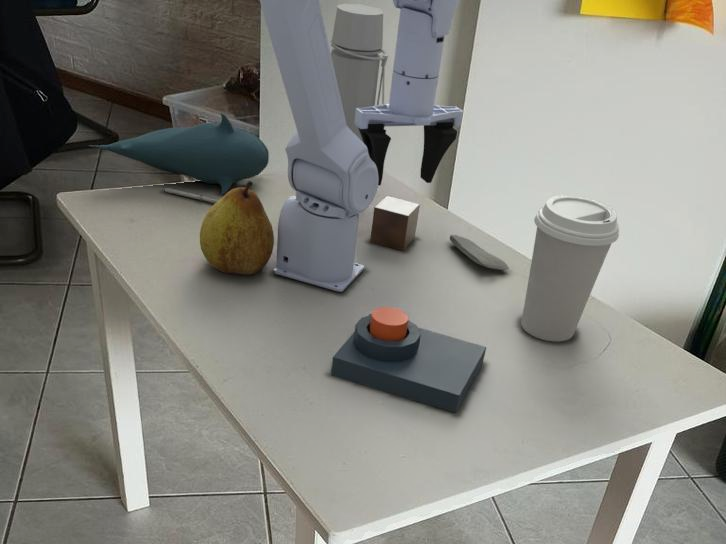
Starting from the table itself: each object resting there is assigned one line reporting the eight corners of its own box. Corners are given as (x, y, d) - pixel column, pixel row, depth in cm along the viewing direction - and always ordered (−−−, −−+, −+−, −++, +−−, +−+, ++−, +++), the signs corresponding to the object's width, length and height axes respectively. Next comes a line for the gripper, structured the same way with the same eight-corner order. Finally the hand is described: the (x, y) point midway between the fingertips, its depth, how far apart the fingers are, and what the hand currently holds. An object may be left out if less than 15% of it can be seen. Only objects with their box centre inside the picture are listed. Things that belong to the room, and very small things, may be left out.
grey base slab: (330, 374, 88) (334, 342, 85) (367, 330, 96) (371, 299, 93) (455, 413, 85) (462, 380, 82) (482, 363, 93) (490, 332, 90)
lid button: (363, 335, 88) (365, 318, 86) (376, 320, 90) (379, 303, 89) (398, 346, 87) (401, 329, 85) (410, 329, 90) (413, 313, 88)
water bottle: (312, 193, 126) (325, 8, 110) (328, 177, 132) (343, -1, 116) (369, 206, 124) (391, 21, 108) (383, 189, 130) (406, 11, 114)
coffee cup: (528, 350, 96) (561, 227, 87) (496, 310, 103) (525, 192, 93) (599, 346, 99) (640, 226, 89) (564, 307, 106) (599, 192, 96)
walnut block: (369, 242, 115) (374, 207, 111) (382, 229, 118) (386, 195, 115) (403, 251, 113) (408, 216, 110) (414, 238, 117) (420, 204, 114)
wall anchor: (217, 205, 118) (218, 198, 118) (164, 193, 120) (164, 186, 119) (220, 205, 119) (221, 198, 118) (167, 193, 121) (168, 186, 120)
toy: (278, 117, 119) (249, 117, 132) (92, 103, 109) (80, 104, 122) (276, 197, 124) (249, 189, 136) (97, 190, 114) (85, 182, 126)
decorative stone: (463, 245, 119) (437, 240, 116) (467, 236, 118) (441, 231, 115) (509, 274, 112) (482, 269, 109) (512, 265, 111) (486, 260, 108)
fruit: (204, 250, 107) (203, 156, 99) (274, 256, 108) (278, 164, 100) (195, 280, 100) (193, 183, 93) (270, 287, 101) (274, 191, 93)
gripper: (376, 82, 96) (363, 195, 105) (482, 81, 102) (461, 190, 111) (352, 65, 101) (342, 175, 110) (455, 65, 107) (437, 170, 115)
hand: (400, 181), depth 111 cm, fingers open, 7 cm apart
